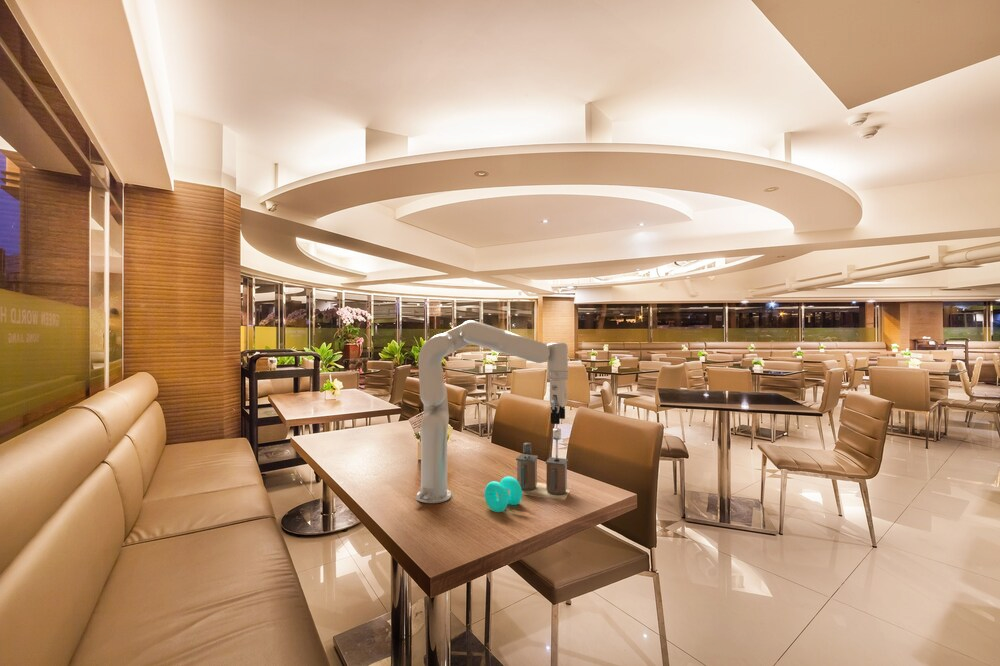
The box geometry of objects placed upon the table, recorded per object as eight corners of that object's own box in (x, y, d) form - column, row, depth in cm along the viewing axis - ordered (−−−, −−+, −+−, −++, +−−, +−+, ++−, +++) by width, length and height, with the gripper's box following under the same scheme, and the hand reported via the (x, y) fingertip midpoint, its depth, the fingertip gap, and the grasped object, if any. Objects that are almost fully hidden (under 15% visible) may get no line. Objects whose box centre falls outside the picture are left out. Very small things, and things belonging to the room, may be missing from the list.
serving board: (564, 503, 146) (564, 500, 146) (511, 495, 153) (511, 492, 153) (571, 489, 159) (571, 486, 159) (522, 483, 166) (522, 480, 166)
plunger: (561, 473, 151) (561, 431, 151) (548, 471, 153) (549, 429, 153) (564, 469, 156) (564, 428, 156) (551, 468, 158) (552, 427, 158)
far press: (531, 494, 152) (531, 448, 152) (513, 491, 154) (513, 446, 154) (538, 485, 160) (538, 442, 161) (520, 483, 163) (521, 440, 163)
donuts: (523, 508, 142) (523, 479, 142) (503, 517, 135) (503, 486, 135) (502, 500, 149) (503, 472, 149) (482, 508, 142) (482, 479, 142)
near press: (562, 498, 148) (562, 466, 148) (543, 495, 150) (543, 463, 150) (567, 489, 156) (567, 458, 157) (549, 487, 159) (549, 456, 159)
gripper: (562, 378, 145) (563, 426, 145) (571, 373, 162) (572, 417, 161) (542, 377, 148) (542, 425, 148) (553, 373, 164) (553, 416, 164)
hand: (558, 421), depth 155 cm, fingers open, 9 cm apart
